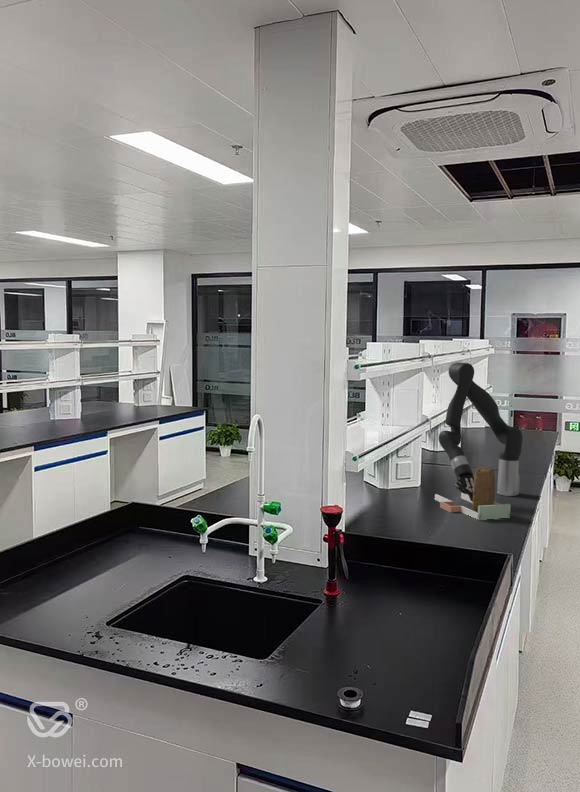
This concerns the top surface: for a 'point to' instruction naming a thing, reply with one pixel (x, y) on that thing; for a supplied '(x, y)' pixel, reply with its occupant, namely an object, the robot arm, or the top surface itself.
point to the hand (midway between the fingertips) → (474, 501)
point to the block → (483, 487)
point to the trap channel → (483, 511)
